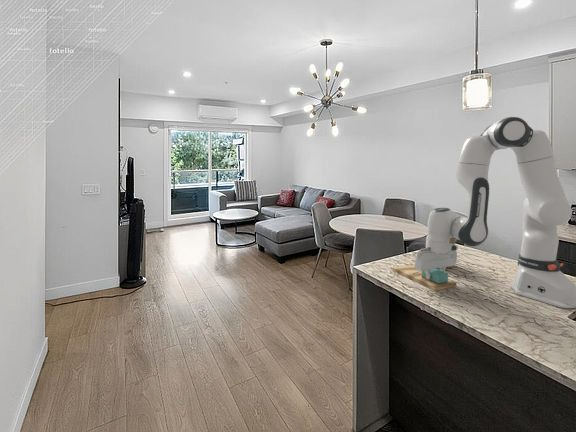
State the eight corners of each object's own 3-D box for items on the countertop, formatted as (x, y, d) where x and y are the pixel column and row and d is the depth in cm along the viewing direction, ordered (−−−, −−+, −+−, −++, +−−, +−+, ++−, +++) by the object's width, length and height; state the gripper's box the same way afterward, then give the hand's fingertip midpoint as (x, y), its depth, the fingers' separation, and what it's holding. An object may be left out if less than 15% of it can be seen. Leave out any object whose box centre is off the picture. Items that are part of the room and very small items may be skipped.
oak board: (456, 286, 130) (456, 282, 130) (434, 290, 126) (435, 287, 125) (411, 267, 153) (412, 264, 153) (392, 270, 149) (392, 267, 148)
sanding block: (447, 282, 130) (448, 273, 129) (438, 284, 128) (439, 275, 127) (430, 275, 138) (431, 266, 137) (421, 276, 136) (422, 268, 136)
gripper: (424, 251, 124) (421, 284, 126) (461, 245, 131) (457, 276, 134) (412, 247, 130) (409, 278, 132) (448, 242, 137) (445, 272, 140)
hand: (434, 277), depth 133 cm, fingers closed on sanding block, 5 cm apart
